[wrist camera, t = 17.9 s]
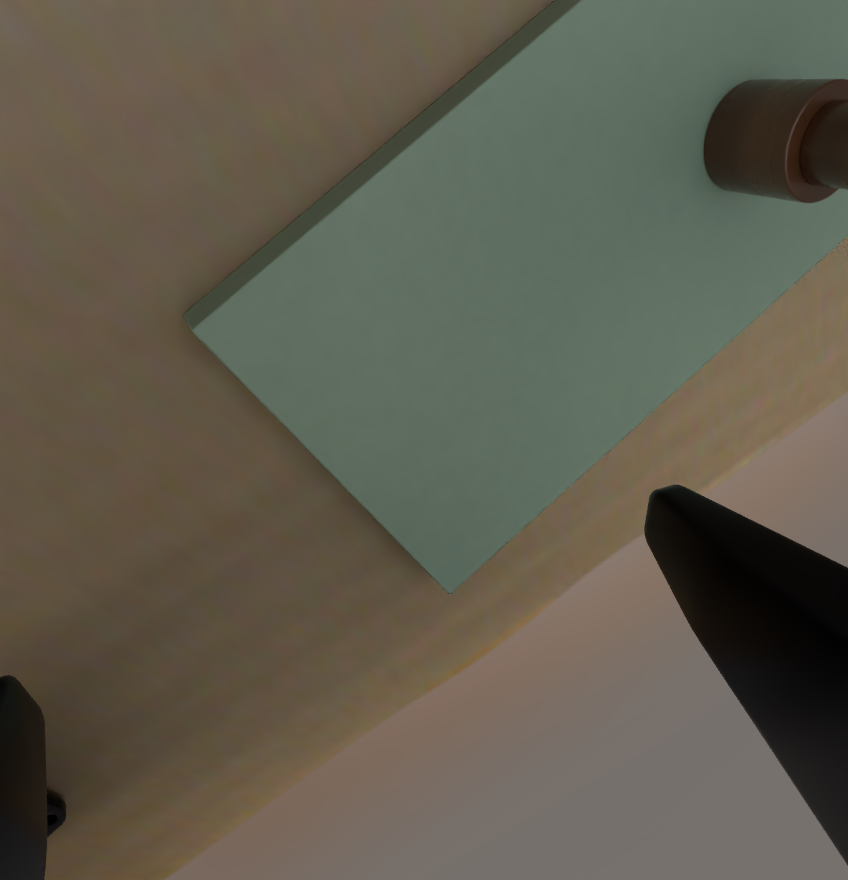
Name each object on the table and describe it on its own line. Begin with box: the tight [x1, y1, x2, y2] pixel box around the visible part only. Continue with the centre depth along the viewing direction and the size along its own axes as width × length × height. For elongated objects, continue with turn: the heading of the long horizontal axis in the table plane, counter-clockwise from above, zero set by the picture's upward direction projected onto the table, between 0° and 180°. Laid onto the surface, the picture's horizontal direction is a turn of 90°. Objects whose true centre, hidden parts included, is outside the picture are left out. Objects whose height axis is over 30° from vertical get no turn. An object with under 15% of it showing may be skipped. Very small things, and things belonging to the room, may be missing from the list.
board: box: [183, 0, 848, 594], centre depth 22 cm, size 22×13×2 cm, turn 125°
